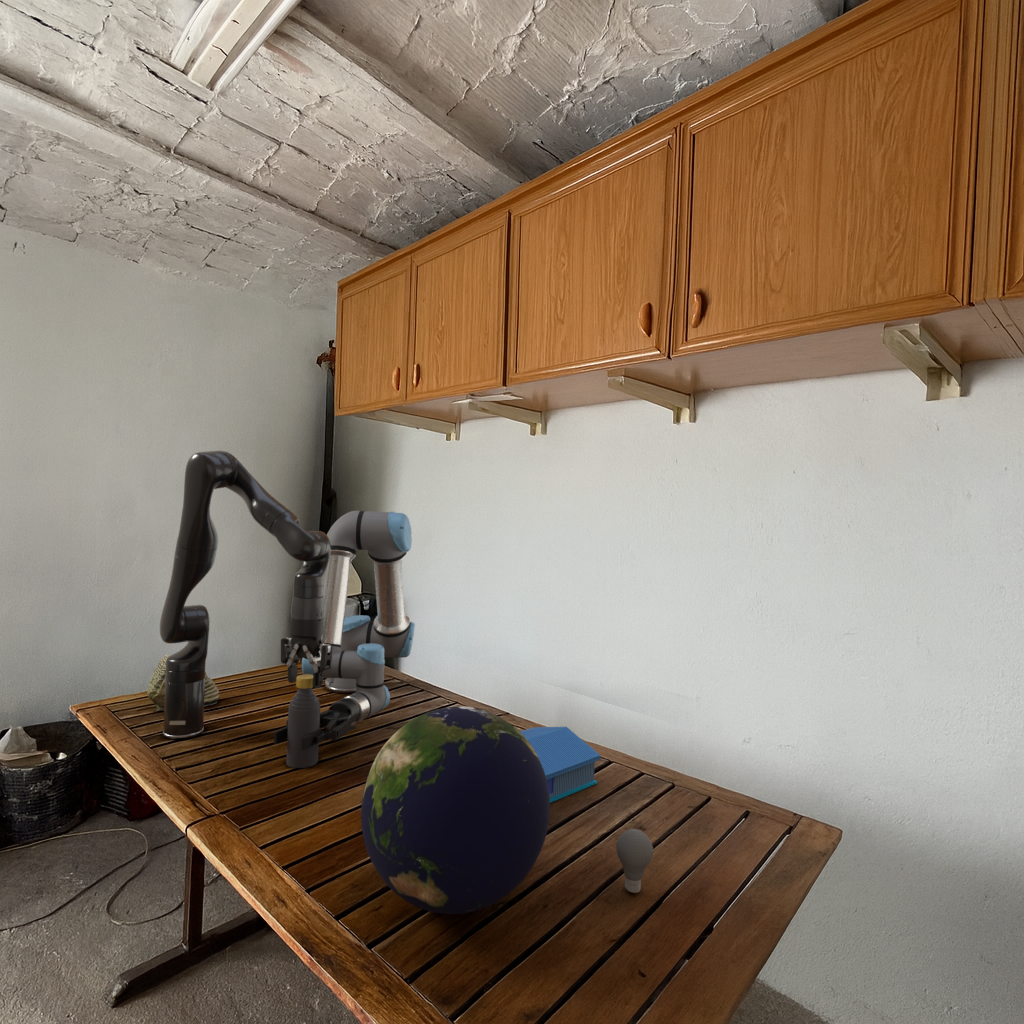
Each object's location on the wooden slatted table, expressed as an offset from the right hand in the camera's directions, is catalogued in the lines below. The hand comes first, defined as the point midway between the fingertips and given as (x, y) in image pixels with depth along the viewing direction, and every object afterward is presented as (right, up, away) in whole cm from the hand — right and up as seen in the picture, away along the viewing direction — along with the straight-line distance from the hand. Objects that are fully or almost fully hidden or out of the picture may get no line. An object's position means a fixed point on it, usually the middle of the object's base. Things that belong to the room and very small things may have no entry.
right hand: (289, 740), depth 146 cm
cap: (+2, +13, +4) cm, 14 cm away
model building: (+51, -9, -7) cm, 52 cm away
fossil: (-45, -4, +39) cm, 59 cm away
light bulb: (+72, -11, -40) cm, 83 cm away
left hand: (+2, +12, +4) cm, 13 cm away
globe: (+42, -9, -44) cm, 61 cm away
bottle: (+1, -7, +5) cm, 8 cm away
